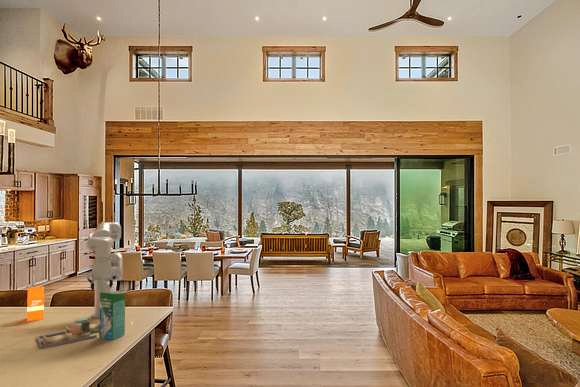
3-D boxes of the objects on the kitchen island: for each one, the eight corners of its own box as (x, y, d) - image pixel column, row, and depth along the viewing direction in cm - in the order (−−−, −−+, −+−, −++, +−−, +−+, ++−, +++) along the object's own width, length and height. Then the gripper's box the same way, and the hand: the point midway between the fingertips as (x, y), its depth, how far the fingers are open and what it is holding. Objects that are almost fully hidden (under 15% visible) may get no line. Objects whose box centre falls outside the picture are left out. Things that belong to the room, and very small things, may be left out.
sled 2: (105, 326, 222) (106, 312, 222) (108, 329, 217) (108, 315, 217) (65, 333, 209) (65, 319, 209) (67, 337, 203) (67, 322, 204)
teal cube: (85, 326, 214) (85, 317, 214) (87, 328, 210) (87, 319, 211) (75, 327, 211) (75, 319, 211) (77, 330, 207) (77, 321, 207)
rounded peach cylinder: (80, 332, 204) (80, 322, 205) (81, 334, 201) (81, 324, 201) (71, 333, 202) (71, 324, 202) (72, 335, 198) (72, 326, 198)
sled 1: (87, 334, 208) (87, 319, 208) (90, 337, 202) (90, 322, 203) (42, 342, 194) (42, 327, 195) (44, 346, 189) (44, 331, 189)
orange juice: (43, 318, 236) (44, 287, 237) (26, 321, 231) (27, 289, 232) (43, 315, 243) (44, 285, 243) (27, 318, 238) (27, 286, 238)
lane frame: (89, 328, 218) (89, 326, 218) (96, 337, 203) (96, 335, 203) (37, 338, 202) (37, 336, 202) (40, 348, 187) (40, 346, 187)
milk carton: (124, 334, 207) (125, 289, 208) (112, 340, 199) (112, 293, 200) (112, 332, 210) (112, 288, 211) (99, 338, 202) (99, 292, 203)
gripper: (116, 257, 229) (115, 285, 229) (84, 260, 218) (84, 289, 217) (119, 259, 223) (119, 287, 223) (87, 262, 212) (87, 292, 212)
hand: (101, 288), depth 220 cm, fingers open, 9 cm apart
